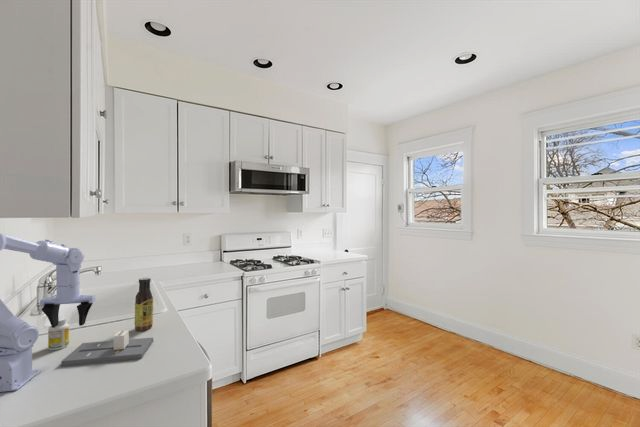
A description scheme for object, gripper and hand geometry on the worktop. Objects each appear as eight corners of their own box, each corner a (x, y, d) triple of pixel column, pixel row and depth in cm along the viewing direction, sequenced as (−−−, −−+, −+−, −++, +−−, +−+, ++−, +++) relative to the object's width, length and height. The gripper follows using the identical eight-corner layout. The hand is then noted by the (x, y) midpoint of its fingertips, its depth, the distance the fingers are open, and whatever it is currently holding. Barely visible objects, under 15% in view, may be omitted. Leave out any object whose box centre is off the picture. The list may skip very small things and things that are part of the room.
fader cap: (123, 348, 98) (123, 335, 98) (113, 349, 98) (113, 335, 97) (128, 343, 102) (128, 329, 102) (118, 344, 101) (118, 330, 101)
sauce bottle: (144, 332, 115) (144, 281, 114) (130, 330, 116) (130, 280, 115) (157, 325, 121) (156, 277, 120) (143, 324, 122) (143, 276, 122)
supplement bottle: (53, 352, 99) (53, 323, 99) (45, 348, 101) (44, 320, 101) (72, 345, 104) (72, 318, 104) (63, 342, 106) (63, 315, 106)
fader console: (141, 358, 96) (141, 353, 96) (61, 366, 91) (61, 360, 91) (153, 341, 108) (153, 337, 107) (82, 347, 102) (82, 342, 102)
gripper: (99, 280, 103) (100, 319, 103) (49, 282, 100) (50, 322, 100) (88, 285, 96) (89, 327, 96) (35, 288, 93) (35, 331, 93)
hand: (68, 325), depth 98 cm, fingers open, 7 cm apart
